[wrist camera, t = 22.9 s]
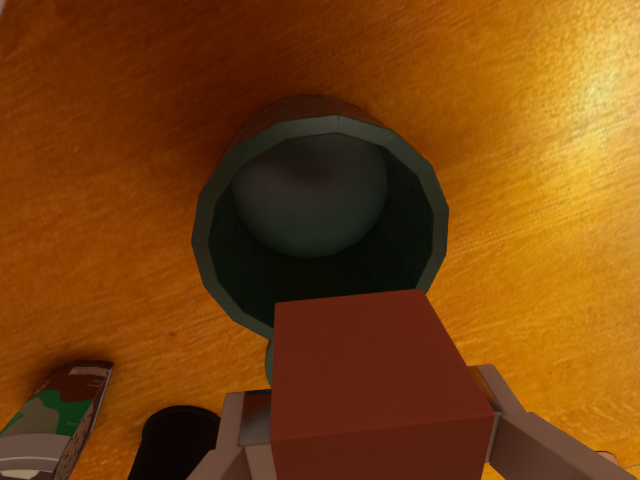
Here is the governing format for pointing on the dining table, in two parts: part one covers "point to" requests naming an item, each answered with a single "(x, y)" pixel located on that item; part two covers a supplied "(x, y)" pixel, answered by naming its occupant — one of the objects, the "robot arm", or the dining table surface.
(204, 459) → the robot arm
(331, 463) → the block
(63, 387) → the food container
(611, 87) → the dining table surface
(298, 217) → the tin
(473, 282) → the dining table surface
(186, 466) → the aerosol can
